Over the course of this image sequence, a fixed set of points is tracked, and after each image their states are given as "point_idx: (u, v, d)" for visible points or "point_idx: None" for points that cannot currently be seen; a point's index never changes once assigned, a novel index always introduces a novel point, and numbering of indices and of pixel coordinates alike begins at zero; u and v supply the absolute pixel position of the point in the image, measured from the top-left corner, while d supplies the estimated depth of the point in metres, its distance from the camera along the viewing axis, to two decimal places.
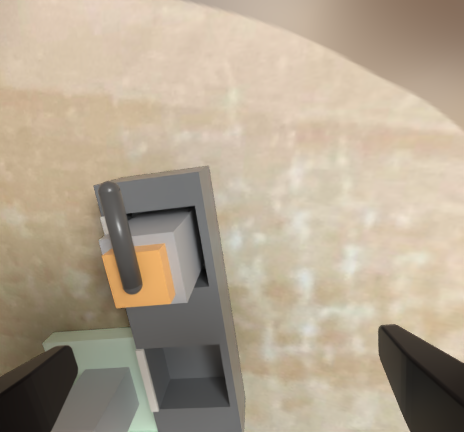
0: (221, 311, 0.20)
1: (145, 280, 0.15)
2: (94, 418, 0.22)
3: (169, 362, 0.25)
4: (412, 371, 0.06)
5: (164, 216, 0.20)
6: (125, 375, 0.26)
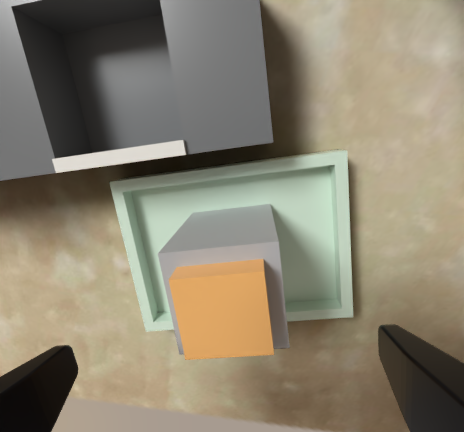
0: None
1: None
2: None
3: (163, 138, 0.15)
4: (412, 371, 0.06)
5: None
6: (192, 216, 0.15)
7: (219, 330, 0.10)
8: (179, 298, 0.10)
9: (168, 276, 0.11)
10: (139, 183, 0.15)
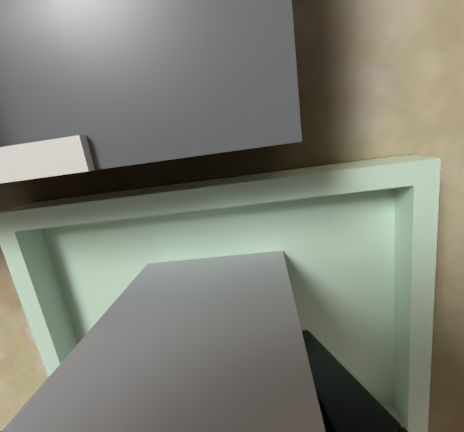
0: None
1: None
2: None
3: (85, 134, 0.08)
4: None
5: None
6: (142, 274, 0.09)
7: None
8: None
9: None
10: (42, 217, 0.08)
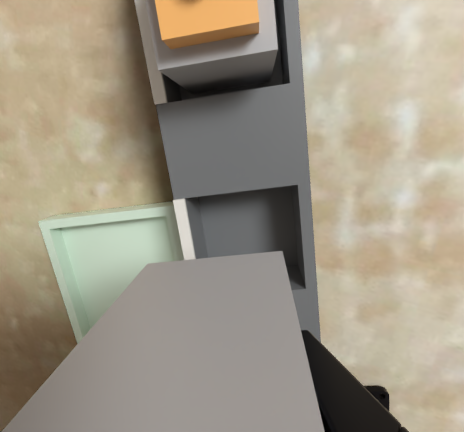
0: (305, 127, 0.14)
1: None
2: None
3: (211, 247, 0.19)
4: None
5: None
6: (141, 275, 0.09)
7: None
8: None
9: None
10: (174, 230, 0.18)
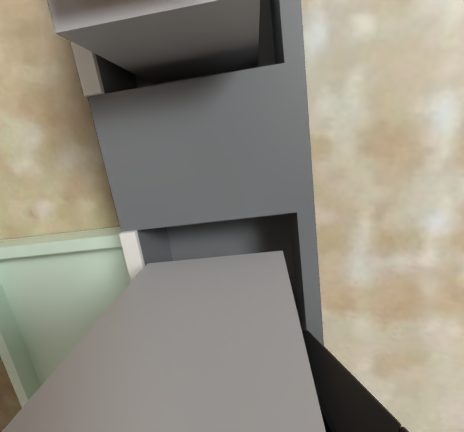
0: (307, 130, 0.09)
1: None
2: None
3: None
4: None
5: None
6: (142, 275, 0.09)
7: None
8: None
9: None
10: None
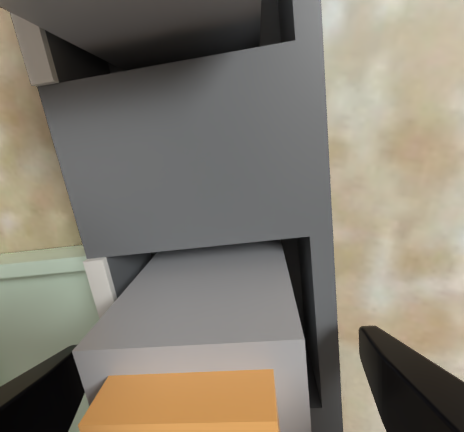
0: (325, 130, 0.07)
1: None
2: None
3: None
4: (387, 372, 0.06)
5: None
6: None
7: None
8: None
9: (94, 391, 0.06)
10: None
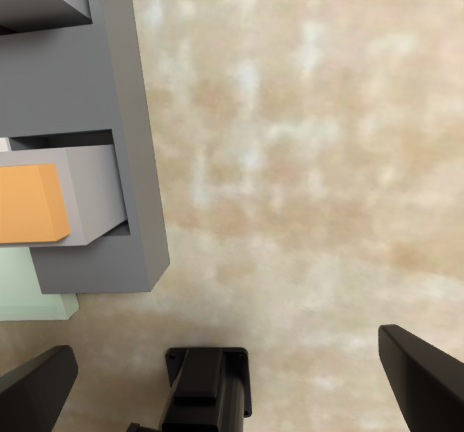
0: (112, 71, 0.14)
1: None
2: None
3: None
4: (412, 371, 0.06)
5: None
6: None
7: (10, 217, 0.12)
8: None
9: None
10: None
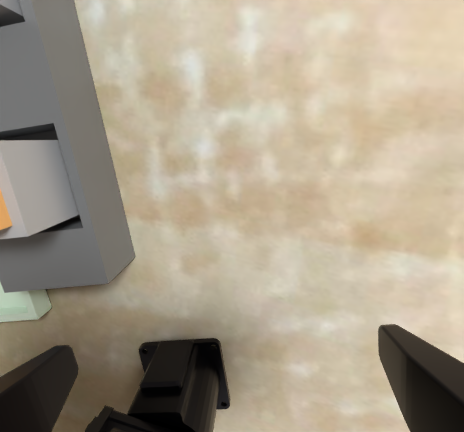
0: (49, 66, 0.14)
1: None
2: None
3: None
4: (412, 371, 0.06)
5: None
6: None
7: None
8: None
9: None
10: None
